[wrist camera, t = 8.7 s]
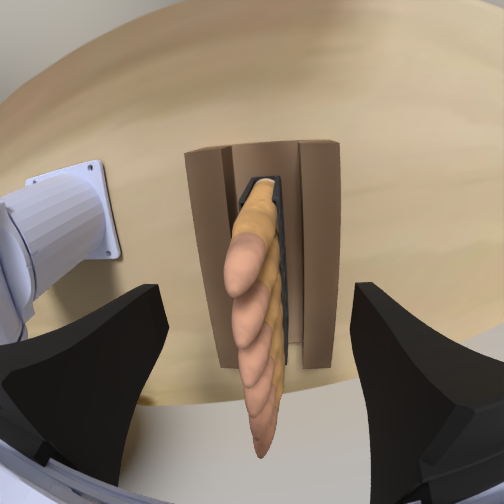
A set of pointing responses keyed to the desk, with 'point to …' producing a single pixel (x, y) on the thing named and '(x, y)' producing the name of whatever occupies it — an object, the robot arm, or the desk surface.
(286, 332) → the ammunition clip
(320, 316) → the walnut rack
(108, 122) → the desk surface
